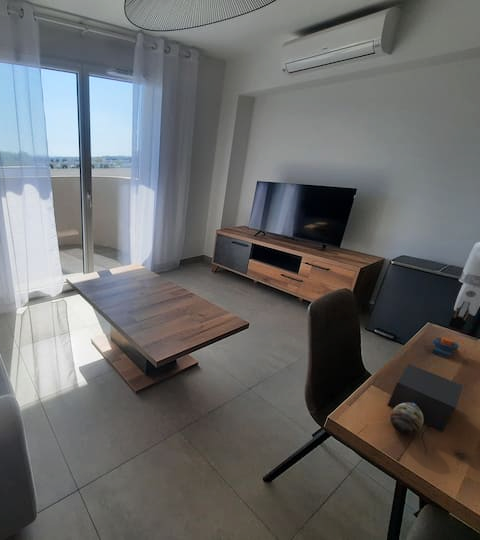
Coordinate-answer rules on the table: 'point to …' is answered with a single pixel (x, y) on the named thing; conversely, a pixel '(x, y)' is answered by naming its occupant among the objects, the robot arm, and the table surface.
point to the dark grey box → (427, 395)
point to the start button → (447, 341)
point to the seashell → (407, 418)
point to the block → (444, 348)
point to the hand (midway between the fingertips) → (455, 327)
